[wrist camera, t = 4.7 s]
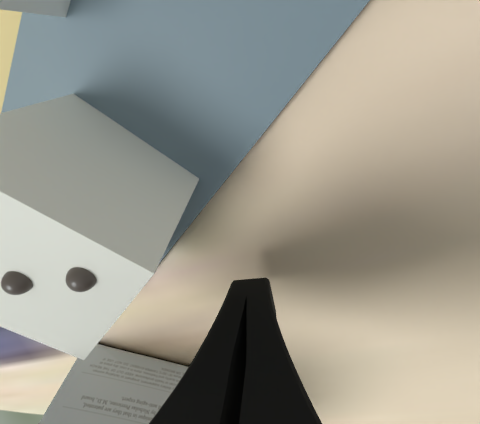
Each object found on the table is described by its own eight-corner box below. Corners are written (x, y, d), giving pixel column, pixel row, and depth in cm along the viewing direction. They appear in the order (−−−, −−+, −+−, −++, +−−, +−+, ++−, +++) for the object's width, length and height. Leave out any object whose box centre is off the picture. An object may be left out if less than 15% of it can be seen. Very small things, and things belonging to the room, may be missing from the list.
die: (199, 178, 9) (148, 284, 5) (144, 254, 11) (77, 371, 7) (73, 93, 8) (-120, 145, 4) (37, 195, 10) (-111, 297, 6)
